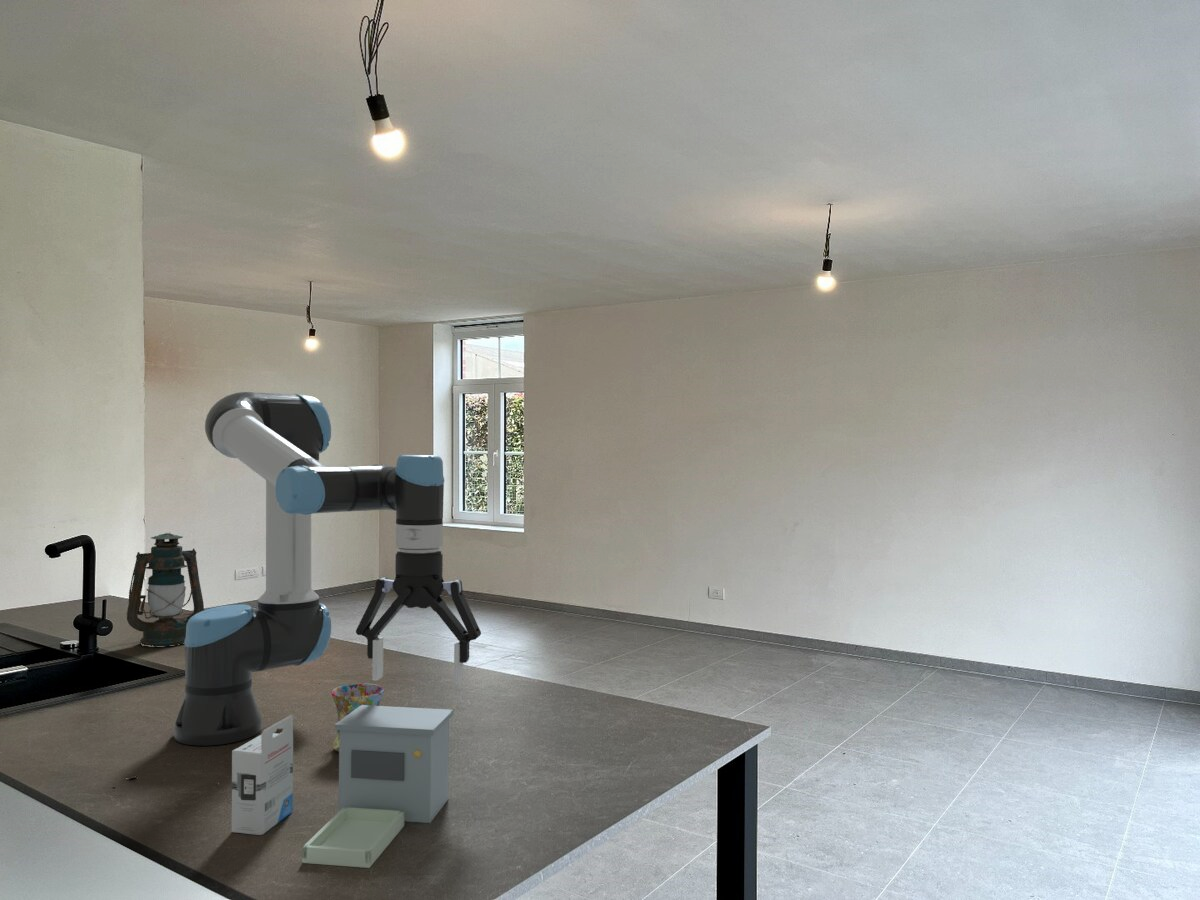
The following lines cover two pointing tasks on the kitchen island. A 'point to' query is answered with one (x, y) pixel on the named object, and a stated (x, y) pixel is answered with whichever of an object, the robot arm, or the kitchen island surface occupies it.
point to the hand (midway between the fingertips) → (417, 680)
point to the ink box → (263, 780)
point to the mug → (354, 700)
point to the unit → (395, 760)
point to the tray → (353, 837)
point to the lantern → (164, 592)
